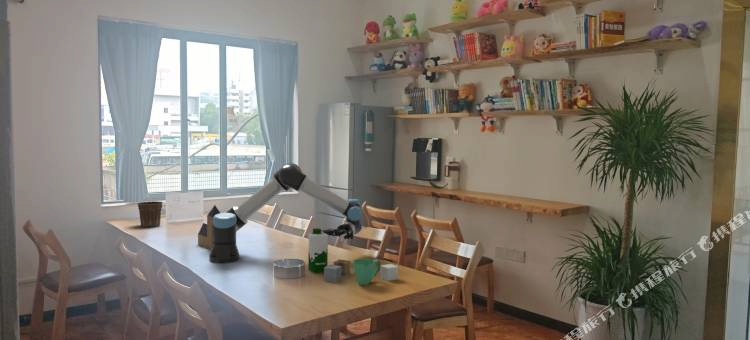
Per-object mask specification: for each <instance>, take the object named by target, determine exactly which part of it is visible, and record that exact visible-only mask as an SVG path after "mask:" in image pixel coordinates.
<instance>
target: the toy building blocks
mask: <svg viewBox="0 0 750 340" xmlns="http://www.w3.org/2000/svg"><path fill="white" fill-rule="evenodd" d="M220 213H221V211H220V210H219V209H218V207H217V206H216V204H214V205H213V206H212V208H211V209H210V211H209V212H208V213H207V215H206V223H205V222H203V223H202V225H201V227H200V229H199V232H198V234H197V238H198V239H197V245H198V246H200V247H202V248H204V249H208V250H210V251H211V249H212V246H213V217H214V216H215V215H216V214H220Z"/></svg>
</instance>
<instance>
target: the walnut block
mask: <svg viewBox="0 0 750 340" xmlns="http://www.w3.org/2000/svg"><path fill="white" fill-rule="evenodd" d="M332 265H337V266H342V277H346V276H347V275H350V274H351V260H348V259H347V260H345V259H337V260H335V261H333V264H332Z"/></svg>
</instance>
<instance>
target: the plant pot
mask: <svg viewBox="0 0 750 340" xmlns="http://www.w3.org/2000/svg"><path fill="white" fill-rule="evenodd" d="M163 203H164V202H163V201H154V200H153V201H142V202H137V208H138V213H139V220H140V227H142V228H150V227H151V228H155V227H159V226H161V215H162V208H163Z"/></svg>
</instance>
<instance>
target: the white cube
mask: <svg viewBox="0 0 750 340" xmlns="http://www.w3.org/2000/svg"><path fill="white" fill-rule="evenodd" d="M379 279H381V280H385V281H387V282H391V281H396V280H397V281H398V280H399V266H397V265H396V264H395V265H394V264H392V263H387V264H380V267H379Z"/></svg>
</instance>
